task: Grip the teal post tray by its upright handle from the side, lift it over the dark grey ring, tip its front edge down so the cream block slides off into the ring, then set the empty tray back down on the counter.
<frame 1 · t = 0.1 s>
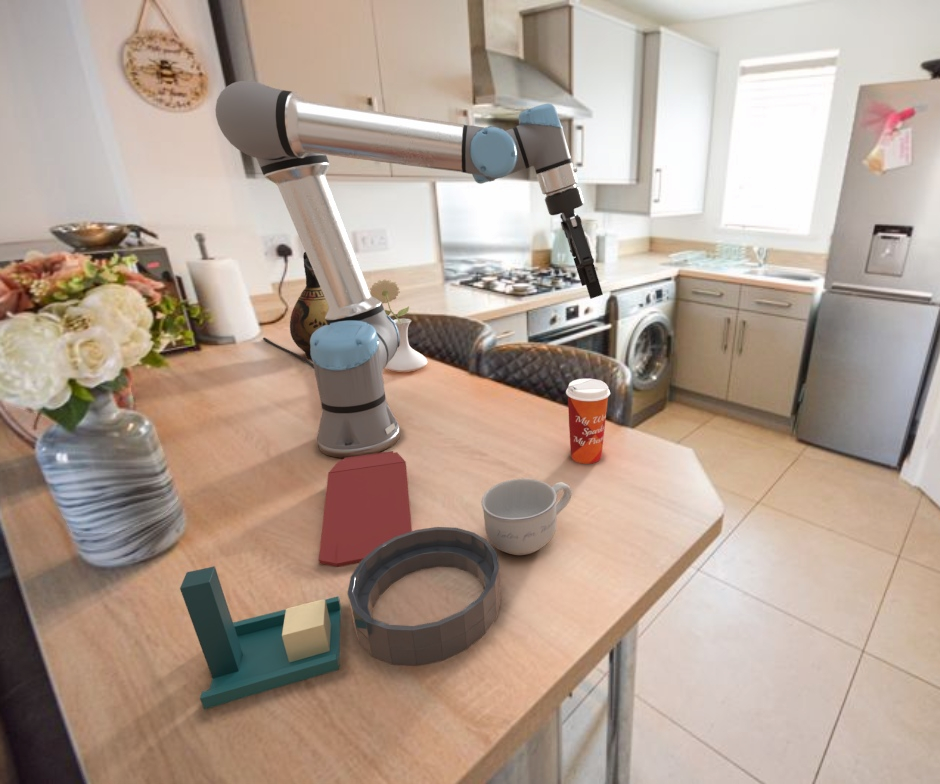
hand: (591, 290, 112), 28 cm above the worktop, tool tilted 20°, fingers open, 13 cm apart
teacup: (531, 539, 77), on the worktop
red flat panel: (370, 513, 82), on the worktop
teal post tray: (229, 670, 55), on the worktop, touching cream block
coffee cup: (586, 456, 100), on the worktop
cream block: (310, 642, 58), point 1 cm above the worktop, touching teal post tray
dark grey ring: (430, 609, 64), on the worktop
ceramic jug: (324, 354, 154), on the worktop
flower in vase: (404, 369, 143), on the worktop
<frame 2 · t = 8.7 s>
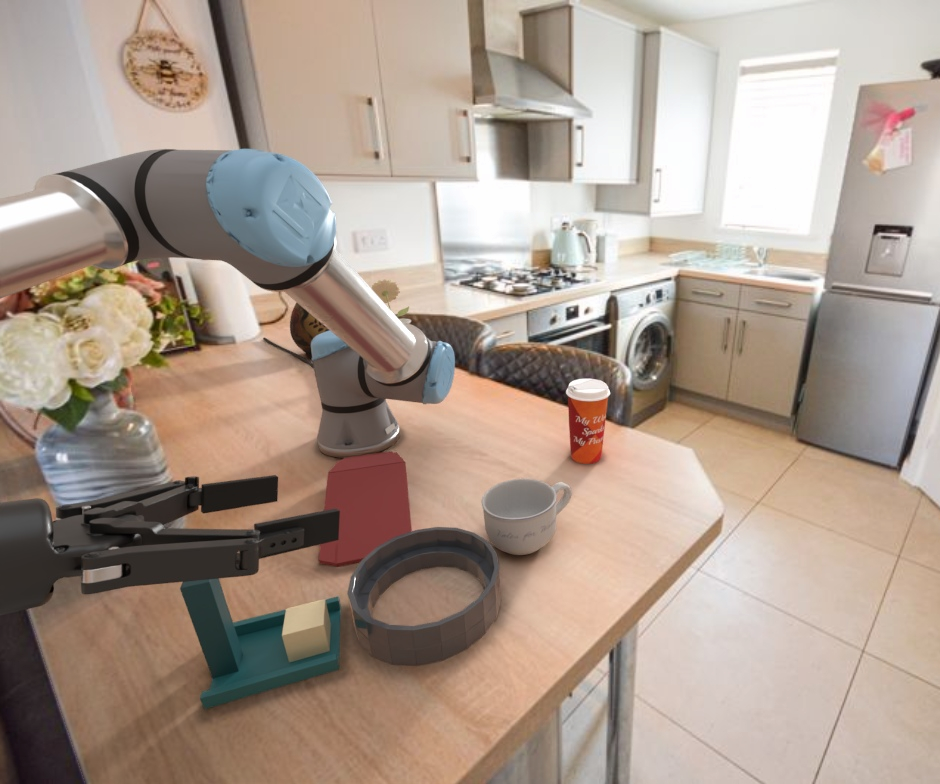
hand: (304, 504, 50), 20 cm above the worktop, tool tilted 75°, fingers open, 13 cm apart
nothing on the worktop moved.
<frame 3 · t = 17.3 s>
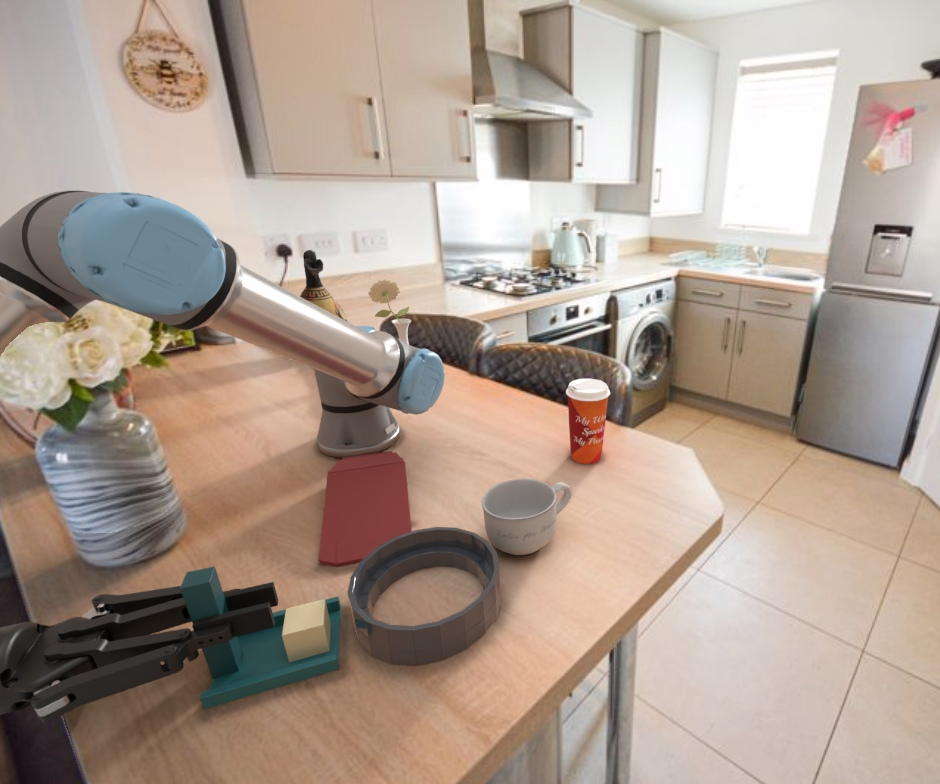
hand: (273, 603, 54), 8 cm above the worktop, tool horizontal, fingers closed on teal post tray, 2 cm apart
teal post tray: (229, 670, 55), on the worktop, touching gripper, cream block
everything else where it was.
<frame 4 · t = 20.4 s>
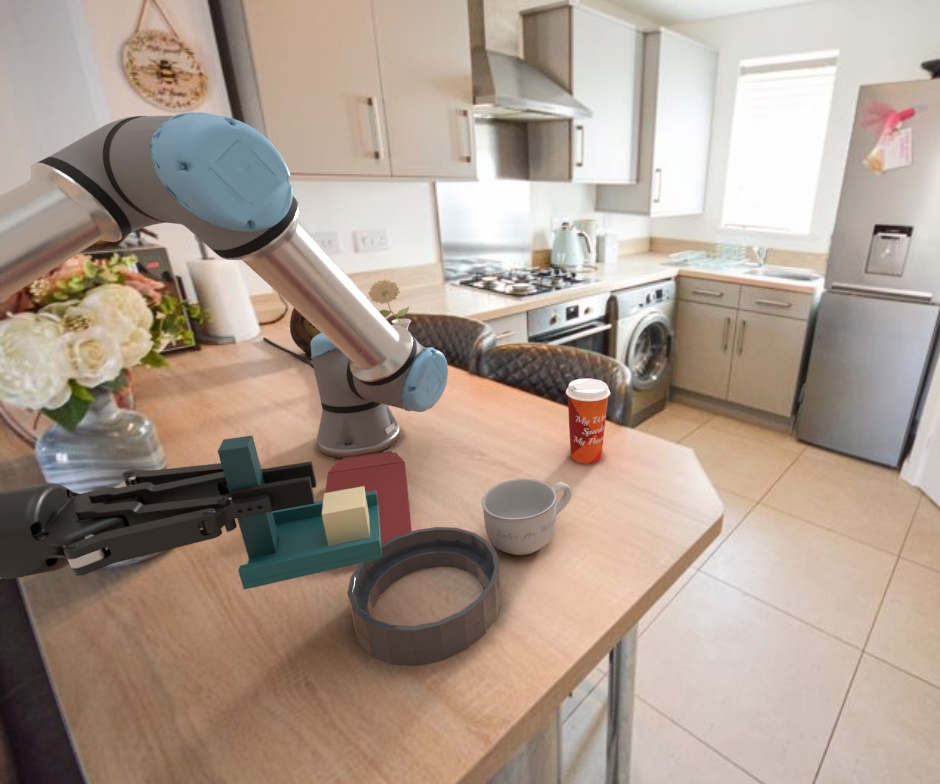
hand: (312, 482, 52), 21 cm above the worktop, tool horizontal, fingers closed on teal post tray, 2 cm apart
teal post tray: (266, 554, 52), point 14 cm above the worktop, touching gripper, cream block
cream block: (349, 530, 55), point 15 cm above the worktop, touching teal post tray
everything else where it was.
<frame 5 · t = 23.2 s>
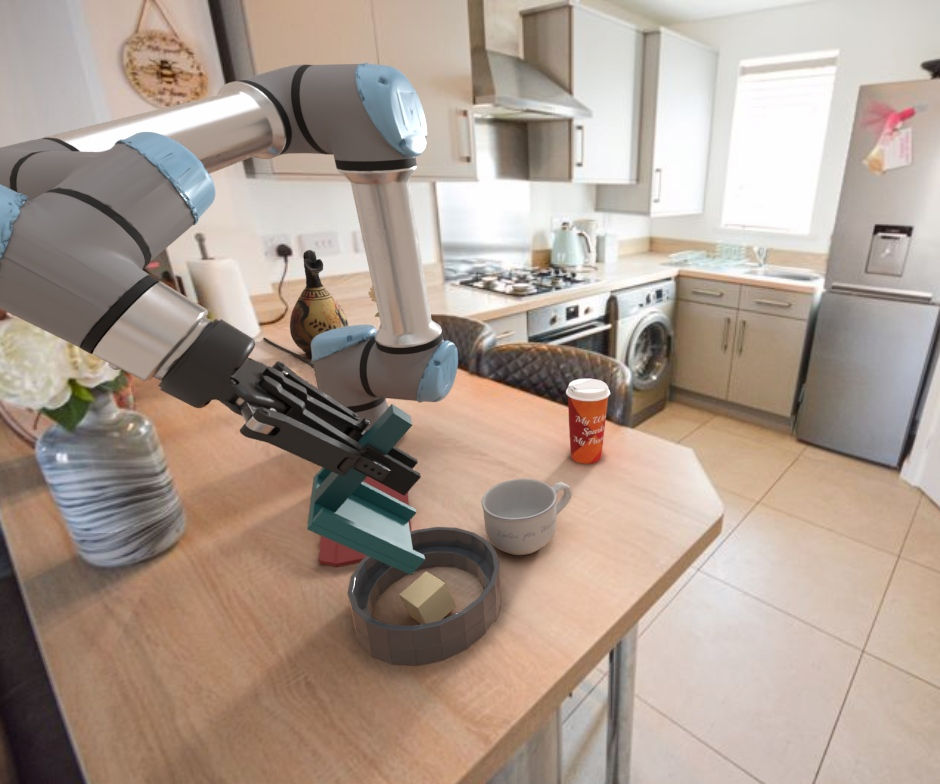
hand: (410, 476, 56), 20 cm above the worktop, tool tilted 45°, fingers closed on teal post tray, 2 cm apart
teal post tray: (320, 506, 53), point 18 cm above the worktop, tilted 44°, touching gripper
cream block: (441, 588, 62), point 4 cm above the worktop, tilted 102°, touching dark grey ring
everything else where it was.
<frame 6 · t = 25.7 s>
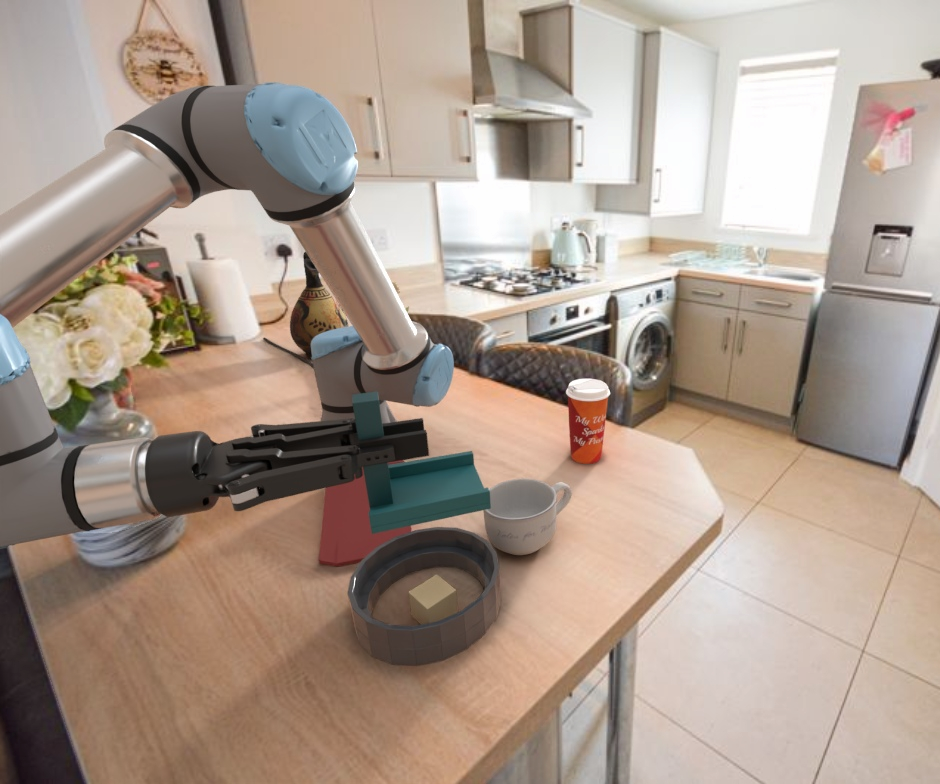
hand: (425, 436, 55), 24 cm above the worktop, tool horizontal, fingers closed on teal post tray, 2 cm apart
teal post tray: (381, 505, 56), point 16 cm above the worktop, touching gripper
cream block: (447, 594, 63), point 2 cm above the worktop, tilted 90°, touching dark grey ring
everything else where it was.
when the fingers open (8 cm above the worktop, at t = 32.3 s): teal post tray stays where it is, on the worktop.
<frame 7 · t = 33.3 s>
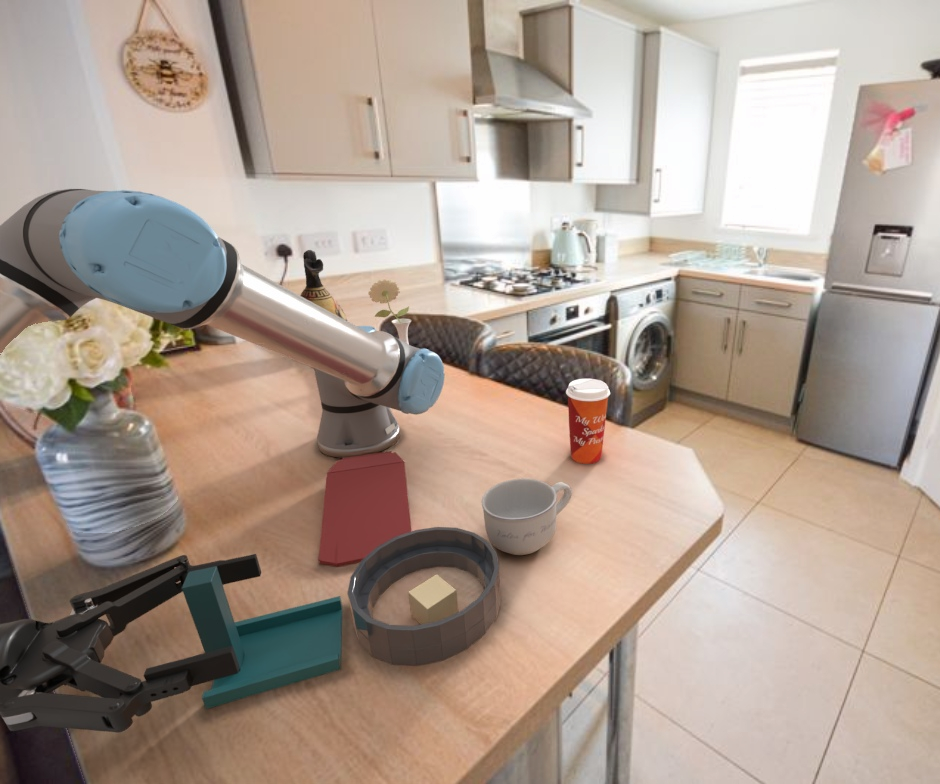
hand: (248, 607, 54), 8 cm above the worktop, tool horizontal, fingers open, 13 cm apart
teal post tray: (231, 670, 55), on the worktop
everything else where it was.
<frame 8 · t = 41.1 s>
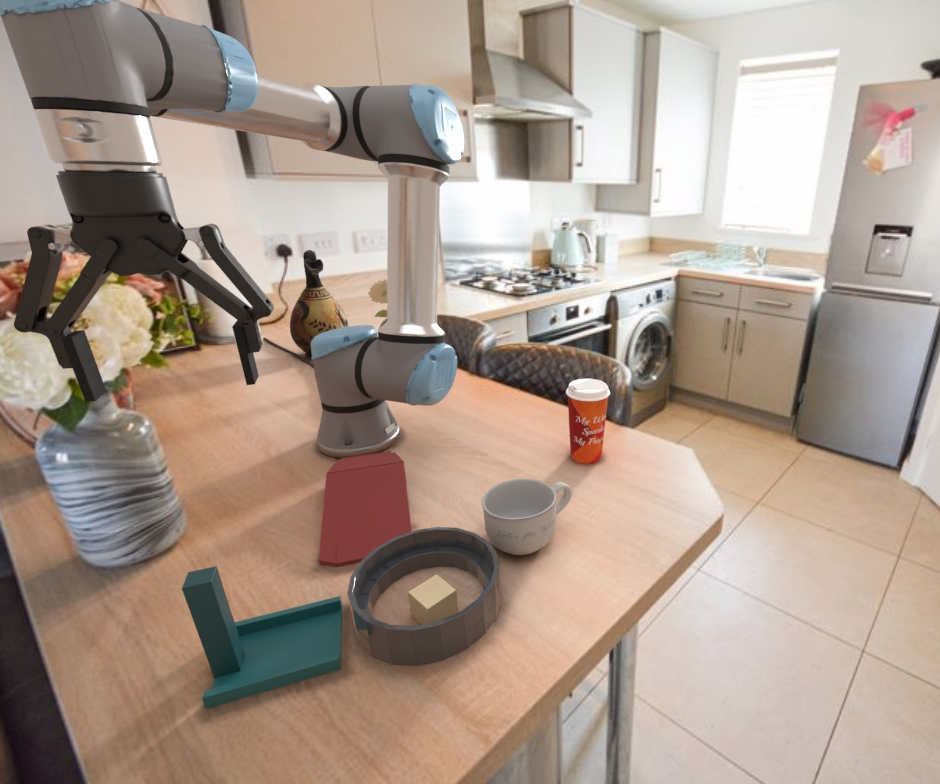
hand: (178, 388, 54), 29 cm above the worktop, tool pointing down, fingers open, 13 cm apart
nothing on the worktop moved.
at the end: cream block inside the target area in the dark grey ring (2.3 cm from its centre), point 2.5 cm above the dark grey ring's base; cream block touching dark grey ring; teal post tray tilted 0° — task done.
